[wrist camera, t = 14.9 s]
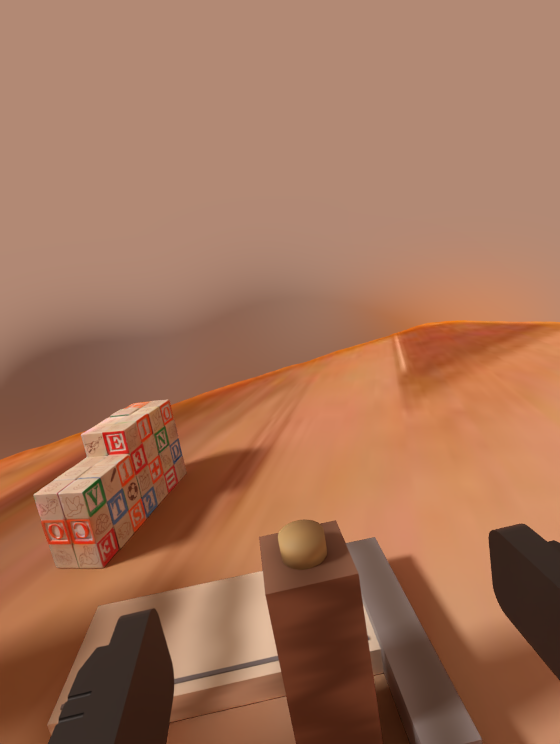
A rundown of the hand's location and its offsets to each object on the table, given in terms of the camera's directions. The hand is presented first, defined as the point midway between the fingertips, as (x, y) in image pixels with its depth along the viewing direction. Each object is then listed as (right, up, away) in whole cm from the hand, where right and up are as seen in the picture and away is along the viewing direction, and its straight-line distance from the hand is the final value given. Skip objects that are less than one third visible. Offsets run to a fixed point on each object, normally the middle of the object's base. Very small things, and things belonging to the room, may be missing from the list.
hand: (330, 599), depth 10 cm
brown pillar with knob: (+2, -17, +15) cm, 22 cm away
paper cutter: (-4, -17, +19) cm, 26 cm away
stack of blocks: (-21, -14, +46) cm, 52 cm away
